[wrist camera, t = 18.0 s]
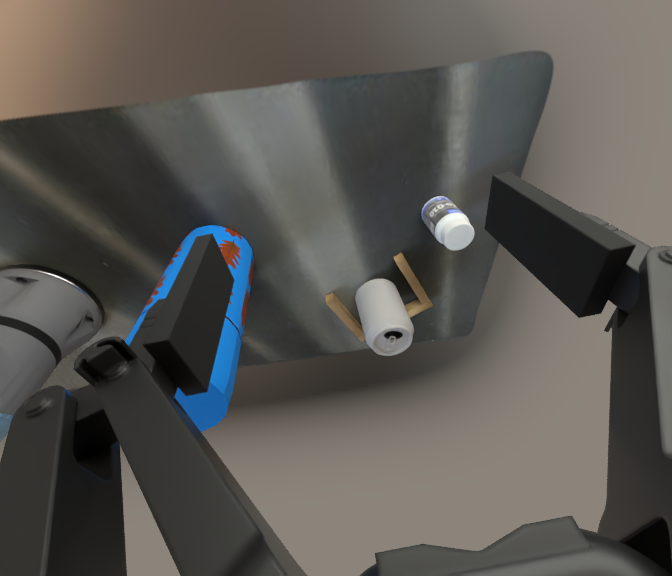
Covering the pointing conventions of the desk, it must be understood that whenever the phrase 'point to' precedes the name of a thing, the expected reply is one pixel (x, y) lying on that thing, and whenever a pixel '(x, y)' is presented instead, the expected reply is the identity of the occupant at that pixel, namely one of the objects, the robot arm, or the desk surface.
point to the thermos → (240, 261)
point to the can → (384, 317)
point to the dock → (411, 307)
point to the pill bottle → (447, 223)
